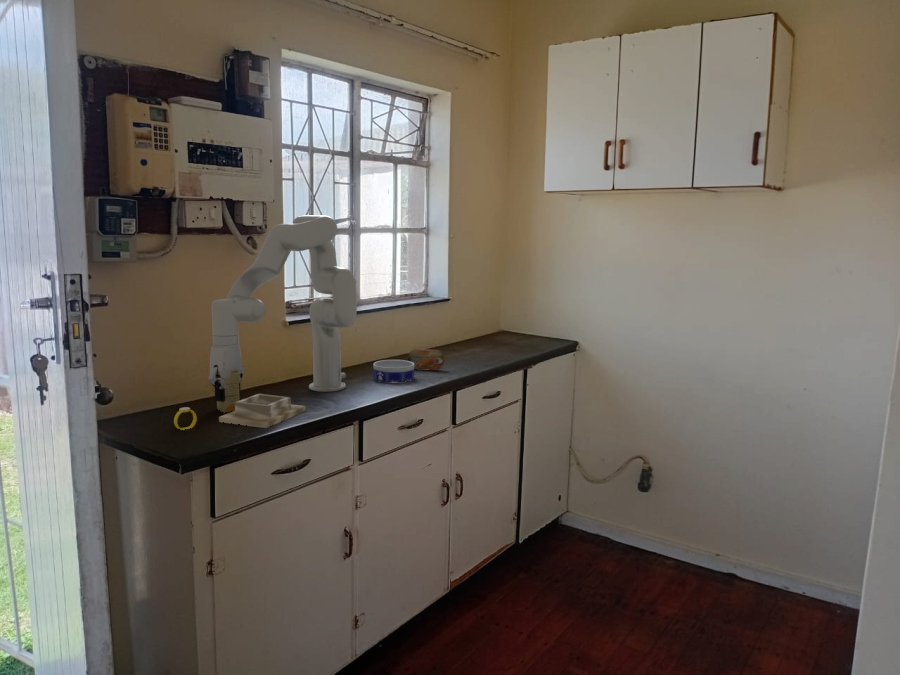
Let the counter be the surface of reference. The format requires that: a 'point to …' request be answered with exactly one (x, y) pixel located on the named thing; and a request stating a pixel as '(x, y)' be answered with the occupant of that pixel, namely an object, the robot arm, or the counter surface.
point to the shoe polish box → (230, 393)
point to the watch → (185, 409)
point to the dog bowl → (393, 371)
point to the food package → (426, 359)
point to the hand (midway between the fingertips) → (228, 397)
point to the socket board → (262, 411)
